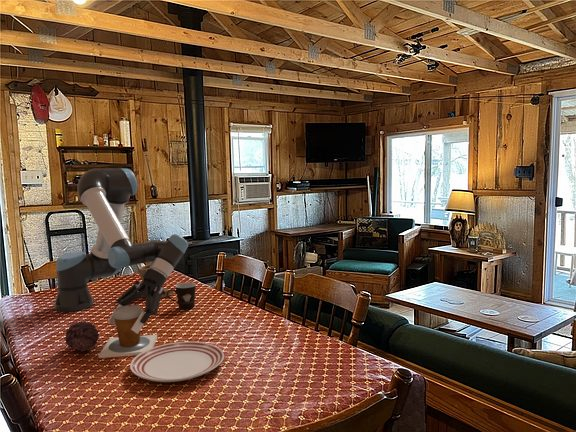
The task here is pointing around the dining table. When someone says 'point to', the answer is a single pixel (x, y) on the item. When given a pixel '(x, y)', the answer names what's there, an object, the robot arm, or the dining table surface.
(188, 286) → the coffee mug
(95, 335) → the pine cone
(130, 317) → the disposable coffee cup
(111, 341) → the board
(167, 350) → the dinner plate
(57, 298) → the robot arm
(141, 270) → the tan irregular lump
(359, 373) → the dining table surface
